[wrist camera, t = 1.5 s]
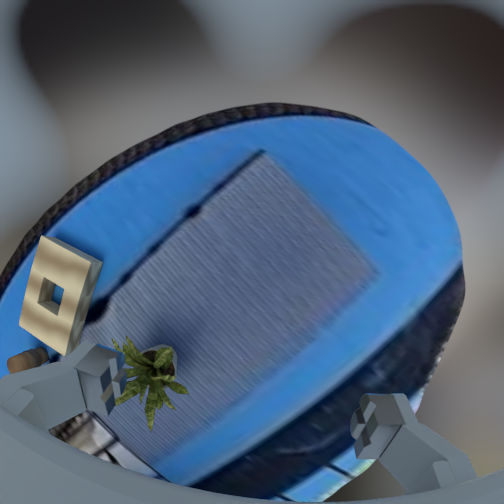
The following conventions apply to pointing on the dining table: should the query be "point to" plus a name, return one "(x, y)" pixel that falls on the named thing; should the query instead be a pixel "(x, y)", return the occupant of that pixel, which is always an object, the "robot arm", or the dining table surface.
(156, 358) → the house plant
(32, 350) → the peg
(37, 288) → the seat block
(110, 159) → the dining table surface
